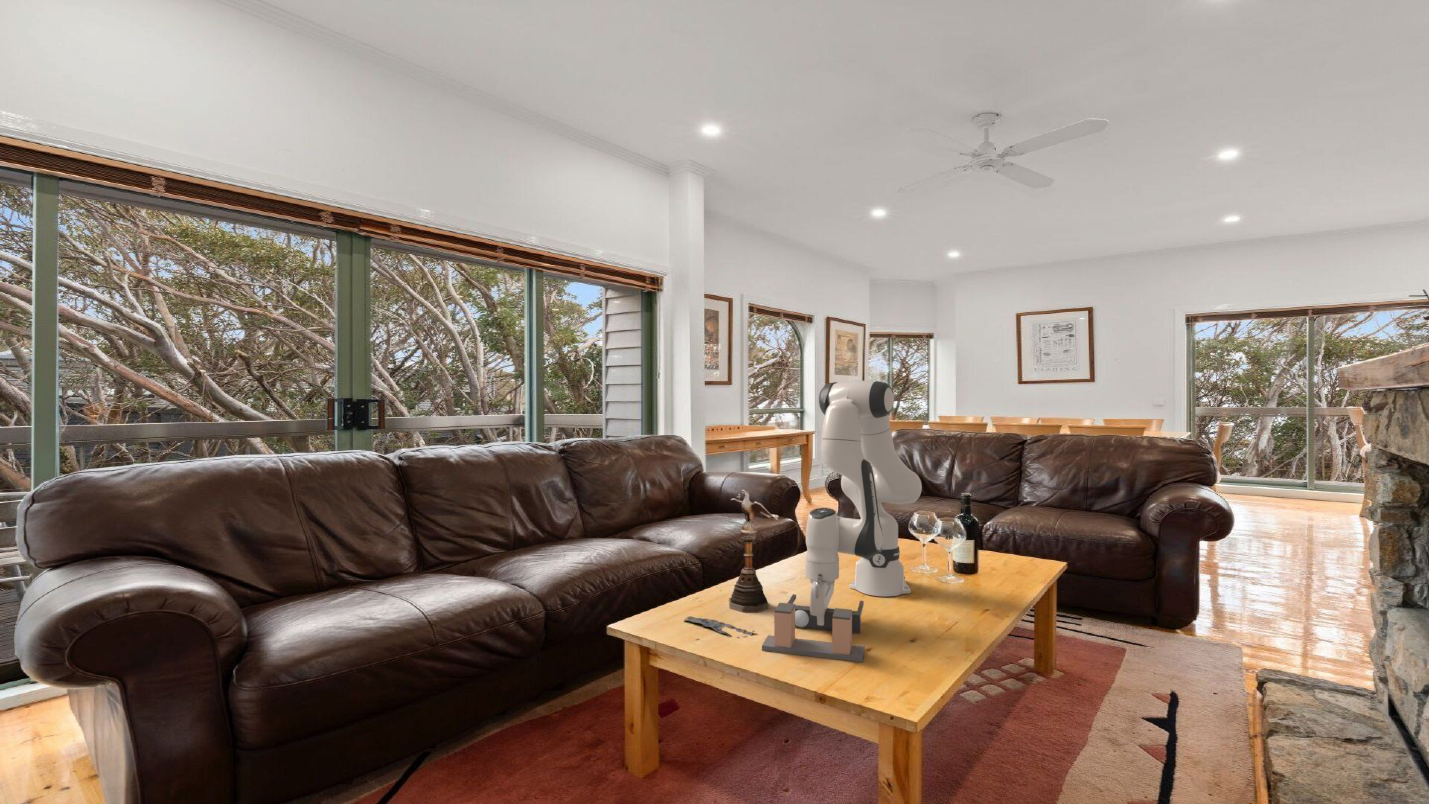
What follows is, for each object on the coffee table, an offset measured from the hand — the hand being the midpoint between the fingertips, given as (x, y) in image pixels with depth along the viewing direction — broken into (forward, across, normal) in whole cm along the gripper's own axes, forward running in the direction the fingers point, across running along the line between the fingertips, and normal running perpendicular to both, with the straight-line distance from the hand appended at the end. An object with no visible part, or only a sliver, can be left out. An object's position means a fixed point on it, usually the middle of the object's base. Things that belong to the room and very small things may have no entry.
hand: (822, 621), depth 175 cm
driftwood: (+2, -8, +27) cm, 28 cm away
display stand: (+2, -16, 0) cm, 16 cm away
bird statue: (+2, +14, +23) cm, 27 cm away
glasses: (+2, +5, 0) cm, 5 cm away
